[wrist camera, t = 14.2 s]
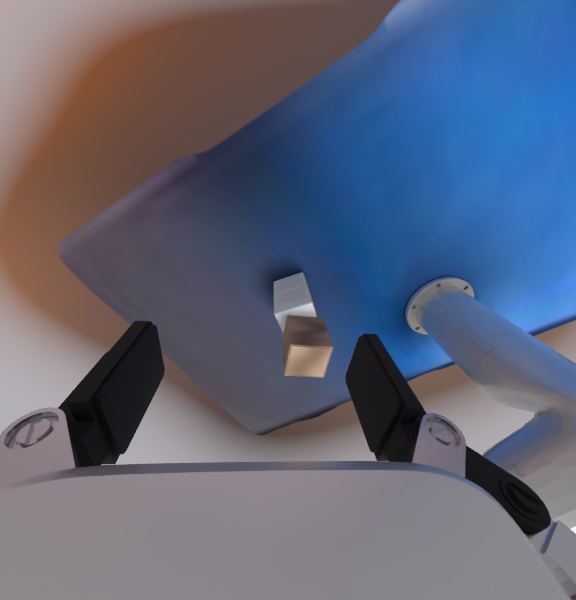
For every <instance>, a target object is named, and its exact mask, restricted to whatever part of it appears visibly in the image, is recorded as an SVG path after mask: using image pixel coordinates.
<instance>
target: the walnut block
mask: <svg viewBox="0 0 576 600" xmlns="http://www.w3.org/2000/svg"><path fill="white" fill-rule="evenodd" d="M282 348H283V362H284V376H302V377H323V378H324V375H325V372H326V369H327V365H328V362H329V359H330V356H331V352H332V349H333V346H332V343H331V340H330V337H329V334H328V331H327V328H326V326H325V323H324V320H323V318H318V317H306V316H293V315H287V318H286V324H285V330H284V336H283V342H282Z"/></svg>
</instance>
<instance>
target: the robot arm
mask: <svg viewBox="0 0 576 600" xmlns="http://www.w3.org/2000/svg"><path fill="white" fill-rule="evenodd" d="M405 317H406V321H407V323H408V325H409V326H410V327H411V328H412V329H413V330H414V331H415V332H417V333H420V334H424V335H429V336H430V337H431V338H432V339H433V340H434V341H435V342H436V343H437V344H438V345H439V346H440V347H441V348H442V349H443V350H444V352H445V353H446V354H447V355H448V356H449V357H450V358H451V359H452V360H453V361H454V362H455V363H456V364H457V365H458V366H459V368H460V369H461V370H462V371H463V372H464V373H465V374H466V375H467V376H468V377H469V378H470V379H471V380H472V381H473V382H474V383H475V385H477V387H478V388H479V389H480V390H481V391H482V392H483V393H485V394H486V395H487V396H488V397H490V398H491V399H493V400H495V401H496V402H499V403H501V404H504V405H507V406H510V407H514V408H518V409H522V410H526V411H531V412H534V417H533V418H532V419H531V420H530V421H529V422H528V423H526V424H525V425H524V426H523V427H522V428H520V429H518V430H517V431H515V432H514V433H512V434H510V435H509V436H507V437H506V438H504V439H503V440H502V441H500V442H498V443H497V444H495V445H494V446H492V447H491V448H490V449H488V450H487V451H485V452H484V453H483V455H480V454H479V453H477V452H475V451H474V450H472V449H471V448H469V447H467V446H466V442H465V438H464V436H463V434H462V432H461V431H460V430H459V428H458V427H457V426H456V425H455V424H453V423H452V422H451V421H450V420H448V419H447V418H445V417H443V416H441V415H438V414H435V413H428V414H426V412H425V411H424V409H423V407H422V405H421V404H420V402H419V401H418V399H417V397H416V396H415V394H414V393H413V391H412V390H411V388H410V387H409V385H408V383H407V382H406V380H405V379H404V377H403V375H402V374H401V372H400V371H399V369H398V367H397V366H396V364H395V363H394V361H393V360H392V358H391V356H390V355H389V353H388V352H387V350H386V348H385V347H384V345H383V344H382V342H381V341H380V339H379V337H378V336H377V335H376V334H363V335H362V336H361V337H359V339H358V341H357V344H356V347H355V350H354V353H353V356H352V359H351V362H350V365H349V367H348V370H347V373H346V384H347V386H348V389H349V392H350V395H351V398H352V401H353V403H354V406H355V409H356V412H357V415H358V418H359V420H360V423H361V426H362V429H363V432H364V435H365V438H366V440H367V443H368V446H369V449H370V451H371V452H374V453H375V456H376V459H377V461H325V462H324V461H319V462H318V461H317V462H315V461H314V462H313V461H312V462H311V461H309V462H225V463H223V462H222V463H165V464H129V465H102V466H101V464H115V463H116V461H117V459H118V457H119V455H120V454H124V453H125V452H126V450H127V448H128V446H129V444H130V442H131V440H132V438H133V436H134V434H135V432H136V430H137V428H138V426H139V424H140V422H141V420H142V418H143V416H144V414H145V412H146V410H147V408H148V406H149V404H150V402H151V400H152V398H153V396H154V394H155V392H156V390H157V388H158V386H159V384H160V382H161V380H162V378H163V376H164V370H165V369H164V364H163V358H162V353H161V347H160V342H159V337H158V331H157V327H156V325H153V324H152V322H150V321H135V322H134V323H133V324H132V325H131V326H130V327H129V329H128V330H127V331H126V332H125V333H124V334H123V336H122V337H121V338H120V339H119V340H118V341H117V343H116V344H115V345H114V346H113V347H112V348H111V349H110V351H108V352H107V353H106V354H104V356H103V357H102V358H101V359H100V360H99V361H98V363H97V364H96V365H95V366H94V367H93V368H92V369H91V371H90V372H89V373H88V374H87V375H86V376H85V378H84V379H83V380H82V381H81V382H80V383H79V384H78V386H77V387H76V388H75V389H74V390H73V391H72V393H71V394H70V395H69V396H68V397H67V398H66V399H65V401H64V402H63V403H62V404H61V405H60V406H59V408H44V409H39V410H36V411H34V412H31V413H29V414H27V415H24V416H22V417H21V418H19V419H18V420H16V421H15V422H13V423H12V424H10V425H9V426H8V427H7V428H6V429H5V430H4V431H3V432H2V434H1V435H0V600H576V363H574V362H572V361H571V360H569V359H567V358H566V357H564V356H562V355H561V354H559V353H558V352H556V351H554V350H553V349H551V348H550V347H548V346H547V345H545V344H544V343H542V342H541V341H539V340H537V339H536V338H534V337H533V336H531V335H530V334H528V333H527V332H525V331H524V330H522V329H521V328H519V327H518V326H516V325H514V324H513V323H511V322H510V321H508V320H507V319H505V318H504V317H502V316H501V315H499V314H498V313H496V312H495V311H493V310H492V309H491V308H490V307H487V306H485V305H484V304H482V303H481V302H479V301H478V300H476V299H475V298H474V291H473V289H472V287H471V285H470V284H468V283H467V282H466V281H464V280H462V279H460V278H457V277H443V278H439V279H436V280H433V281H431V282H429V283H427V284H426V285H424V286H423V287H421V288H420V289H419V290H418V291H417V292H416V293H415V294H414V295H413V296H412V298H411V299H410V300H409V302H408V305H407V307H406V311H405ZM382 461H389V462H382Z"/></svg>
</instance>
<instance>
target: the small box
mask: <svg viewBox="0 0 576 600" xmlns="http://www.w3.org/2000/svg"><path fill="white" fill-rule="evenodd" d="M273 283H274V315H275V317H276V319H277V321H278V323H279V325H280V328H281V330H282V332H283V334H284V330H285V324H286V318H287V315H293V316H306V317H318V314H317V311H316V308H315V305H314V302H313V299H312V296H311V293H310V291H309V288H308V285H307V282H306V279H305V276H304V273H303V272H301V273H298V274H295V275H292V276H289V277H286V278H283V279H280V280H277V281H274V282H273Z"/></svg>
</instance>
